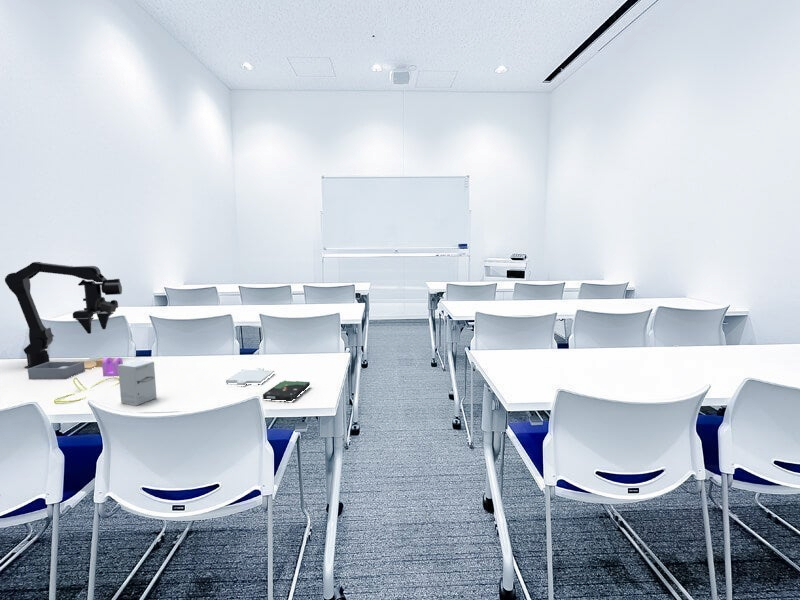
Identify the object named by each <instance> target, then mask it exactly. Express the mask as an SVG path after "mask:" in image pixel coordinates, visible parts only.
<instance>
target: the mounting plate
mask: <svg viewBox="0 0 800 600" xmlns="http://www.w3.org/2000/svg"><path fill="white" fill-rule="evenodd" d="M273 372H275V370H269V369H268V370H265V368H262V367H261V368H258V367H257V368H256V369H241V370H240V371H238V372H236V373H235V374H233V375H231V376H230V377H228V378H227V379H225V384H226V383H237V384H236V386H237V385H245V384H246V383H261V382H262V381H263V380H265V379H266V378H267V377H268V376H270V375H271V374H272V373H273Z"/></svg>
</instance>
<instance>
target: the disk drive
mask: <svg viewBox="0 0 800 600" xmlns="http://www.w3.org/2000/svg"><path fill="white" fill-rule="evenodd" d="M310 382H311V381H299V380H298V381H297V380H296V381H295V380H294V381H290V380H288V381H287V380H282V381H280V382H279V383H277V384H276V385H274V386H272V387H271V388H270V389H269V390H267V391H265V392H264V393H263V394H262V400H263V399H271V400H286V401H292V400H293V399H295V398H296V397H297V396H298V395H299V394H300V393H301V392H302V391H304V390H305V389H306V388H307V387H308V386H309V385H310V386H311V383H310Z"/></svg>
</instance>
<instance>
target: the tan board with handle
mask: <svg viewBox="0 0 800 600" xmlns="http://www.w3.org/2000/svg"><path fill="white" fill-rule="evenodd" d="M104 358H105V357H103V358H101V357H100V358H99V359H97V360H73V361H72V362H84V366H85V370H93V369H95V368H94V367H96V368H102V361H103V359H104ZM110 358H111V359H112V361H113V360H114V359H115V358H114V357H110ZM92 368H93V369H92Z"/></svg>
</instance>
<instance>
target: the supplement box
mask: <svg viewBox="0 0 800 600" xmlns="http://www.w3.org/2000/svg"><path fill="white" fill-rule="evenodd" d="M118 370H119V376H118V378H119V379H118V383H119V382H120V383H119V391H120V402H121V404H126V405H133V406H135V407H137V406H138V405H141V404H143V403H146V402H149V401H152V400H155V399H157V386H156V373H155V370H156V369H155V361H153V360H145V359H136V360H133V361H128V362H124V363H123V364H121V365H118Z"/></svg>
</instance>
